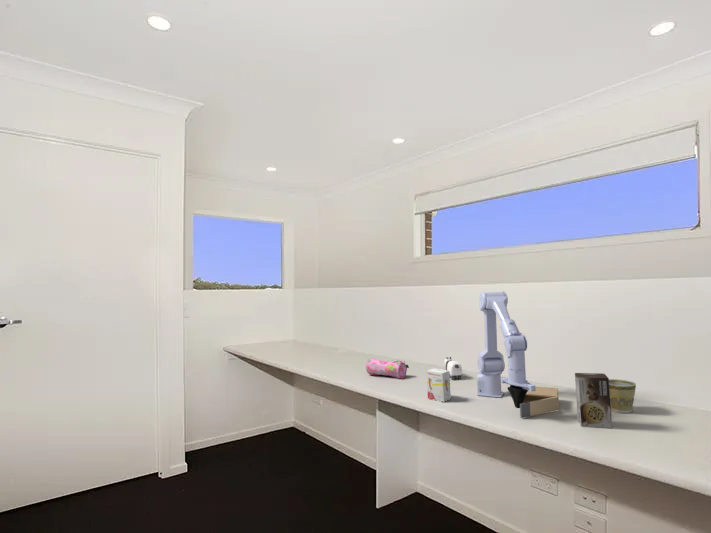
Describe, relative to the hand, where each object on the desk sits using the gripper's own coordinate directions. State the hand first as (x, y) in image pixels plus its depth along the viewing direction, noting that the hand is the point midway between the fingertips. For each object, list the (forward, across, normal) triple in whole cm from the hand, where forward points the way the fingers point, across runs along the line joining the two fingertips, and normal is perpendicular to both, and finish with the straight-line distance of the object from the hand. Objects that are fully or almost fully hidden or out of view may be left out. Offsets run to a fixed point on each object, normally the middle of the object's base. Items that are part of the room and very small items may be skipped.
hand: (518, 407), depth 148 cm
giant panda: (+3, +59, -15) cm, 61 cm away
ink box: (+3, +31, +13) cm, 33 cm away
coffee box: (+3, -18, -14) cm, 23 cm away
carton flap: (+2, -3, -7) cm, 8 cm away
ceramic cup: (+3, -13, -36) cm, 38 cm away
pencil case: (+3, +79, +12) cm, 80 cm away
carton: (+3, +7, -16) cm, 18 cm away
